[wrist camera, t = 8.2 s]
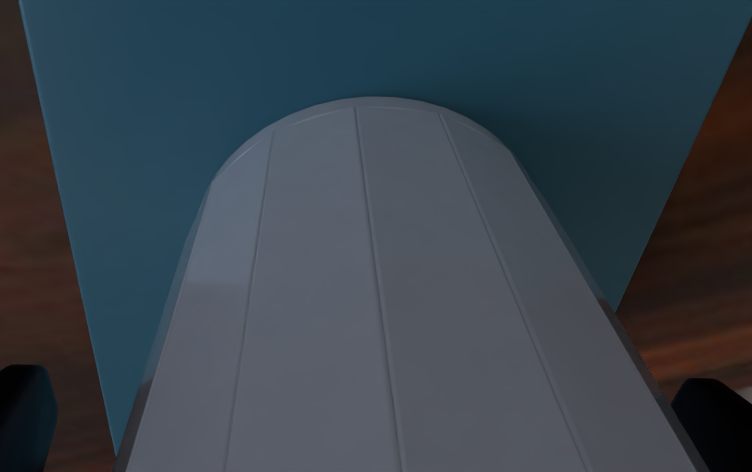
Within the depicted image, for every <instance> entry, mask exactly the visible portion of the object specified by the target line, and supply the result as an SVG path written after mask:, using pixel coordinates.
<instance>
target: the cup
mask: <svg viewBox="0 0 752 472" xmlns="http://www.w3.org/2000/svg"><path fill="white" fill-rule="evenodd" d="M112 472H710V470H709V469H708V467H707V465H706V464H705V462H704V460H703V459H702V457H701V455H700V454H699V452H698V450H697V449H696V447H695V445H694V444H693V442H692V440H691V439H690V437H689V435H688V434H687V432H686V431H685V429H684V427H683V426H682V424H681V422H680V421H679V419H678V417H677V416H676V414H675V412H674V411H673V409H672V407H671V406H670V404H669V402H668V401H667V399H666V397H665V396H664V394H663V392H662V391H661V389H660V388H659V386H658V384H657V383H656V381H655V379H654V378H653V376H652V374H651V373H650V371H649V369H648V368H647V366H646V364H645V363H644V361H643V359H642V358H641V356H640V354H639V353H638V351H637V350H636V348H635V346H634V345H633V343H632V341H631V340H630V338H629V336H628V335H627V333H626V331H625V330H624V328H623V326H622V325H621V323H620V321H619V320H618V318H617V316H616V315H615V313H614V311H613V310H612V308H611V307H610V305H609V303H608V302H607V300H606V298H605V297H604V295H603V293H602V292H601V290H600V288H599V287H598V285H597V283H596V282H595V280H594V278H593V277H592V275H591V273H590V272H589V270H588V269H587V267H586V265H585V264H584V262H583V260H582V259H581V257H580V255H579V254H578V252H577V250H576V249H575V247H574V245H573V244H572V242H571V240H570V239H569V237H568V235H567V234H566V232H565V230H564V229H563V227H562V226H561V224H560V222H559V221H558V219H557V217H556V216H555V214H554V212H553V211H552V209H551V207H550V206H549V204H548V202H547V201H546V199H545V198H544V196H543V195H542V194H541V192H540V191H539V189H538V188H537V187H536V185H535V184H534V183H533V181H532V180H531V179H530V177H529V176H528V174H527V172H526V171H525V169H524V167H523V166H522V164H521V163H520V161H519V160H518V159H517V158H516V156H515V155H514V154H513V153H512V152H511V151H510V149H509V148H508V147H507V146H506V145H505V144H504V143H503V142H502V141H500V140H499V139H498V138H497V137H496V136H494V135H493V134H492V133H491V132H490V131H489V130H487V129H485V128H484V127H482V126H481V125H479V124H477V123H476V122H474V121H473V120H471V119H469V118H467V117H465V116H463V115H461V114H458V113H456V112H454V111H451V110H449V109H447V108H444V107H441V106H437V105H434V104H430V103H427V102H423V101H418V100H412V99H405V98H398V97H370V96H367V97H358V98H348V99H340V100H335V101H331V102H327V103H323V104H318V105H314V106H311V107H309V108H306V109H303V110H301V111H298V112H295V113H293V114H290V115H288V116H286V117H284V118H282V119H280V120H278V121H276V122H275V123H273V124H271V125H269V126H267V127H265V128H264V129H263V130H261V131H260V132H258V133H257V134H256V135H254V136H253V137H251V138H250V139H249V140H247V141H246V142H245V143H244V144H243V145H242V146H241V147H239V148H238V149H237V150H236V151H235V152H234V153H233V154H232V155H231V156H230V157H229V158H228V159H227V160H226V162H225V163H224V164H223V166H222V167H221V168H220V170H219V171H218V172H217V173H216V175H215V176H214V178H213V179H212V181H211V183H210V185H209V187H208V188H207V190H206V192H205V194H204V196H203V199H202V201H201V204H200V207H199V210H198V213H197V215H196V218H195V220H194V223H193V225H192V227H191V229H190V231H189V234H188V236H187V238H186V241H185V244H184V247H183V250H182V254H181V257H180V260H179V263H178V266H177V269H176V272H175V275H174V279H173V282H172V285H171V288H170V291H169V294H168V297H167V300H166V304H165V307H164V310H163V313H162V316H161V319H160V322H159V325H158V329H157V332H156V335H155V338H154V341H153V344H152V347H151V351H150V354H149V357H148V360H147V363H146V366H145V369H144V372H143V376H142V379H141V382H140V385H139V388H138V391H137V394H136V397H135V401H134V404H133V407H132V410H131V413H130V416H129V419H128V422H127V426H126V429H125V432H124V435H123V438H122V441H121V444H120V447H119V451H118V454H117V457H116V460H115V463H114V466H113V469H112Z"/></svg>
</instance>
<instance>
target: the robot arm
mask: <svg viewBox="0 0 752 472" xmlns="http://www.w3.org/2000/svg"><path fill="white" fill-rule="evenodd" d="M670 406H671V407H672V409H673V411H674V412H675V414H676V416H677V417H678V419H679V421H680V422H681V424H682V426H683V427H684V429H685V431H686V432H687V434H688V435H689V437H690V439H691V440H692V442H693V444H694V445H695V447H696V449H697V450H698V452H699V454H700V455H701V457H702V459H703V460H704V462H705V464H706V465H707V467H708V469H709V470H710V472H752V404H751V403H749V402H748V401H747V400H745V399H744V398H743V397H741V396H740V395H738V394H737V393H736V392H734V391H733V390H731V389H730V388H729V387H727V386H726V385H725V384H723V383H722V382H720V381H718V380H715V379H710V378H691V379H688V380H686V381H685V382H684V383H683V384H682V386H681V387H680V389H679V391H678V392H677V394H676V396H675V397H674V399H673V401H672V402H671V404H670ZM57 416H58V408H57V403H56V399H55V396H54V392H53V389H52V385H51V382H50V378H49V375H48V372H47V370H46V369H45V368H44V367H43V366H41V365H20V364H15V365H10V366H7V367H5V368H4V369H2V370H1V371H0V472H43V470H44V466H45V463H46V459H47V456H48V452H49V448H50V445H51V441H52V438H53V434H54V430H55V427H56V423H57Z"/></svg>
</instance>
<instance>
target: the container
mask: <svg viewBox="0 0 752 472" xmlns="http://www.w3.org/2000/svg"><path fill="white" fill-rule="evenodd" d="M18 2H19V6H20V11H21V16H22V20H23V25H24V30H25V34H26V39H27V44H28V48H29V53H30V58H31V62H32V67H33V72H34V76H35V81H36V86H37V90H38V95H39V100H40V104H41V109H42V114H43V118H44V123H45V128H46V132H47V137H48V142H49V146H50V151H51V156H52V160H53V165H54V170H55V174H56V179H57V184H58V188H59V193H60V198H61V202H62V207H63V212H64V216H65V221H66V226H67V230H68V235H69V240H70V244H71V249H72V254H73V258H74V263H75V268H76V272H77V277H78V282H79V286H80V291H81V296H82V300H83V305H84V310H85V314H86V319H87V324H88V328H89V333H90V338H91V342H92V347H93V352H94V356H95V361H96V366H97V370H98V375H99V380H100V384H101V389H102V394H103V398H104V403H105V408H106V412H107V417H108V422H109V426H110V431H111V436H112V440H113V445H114V450H115V454H116V457H117V454H118V451H119V447H120V444H121V441H122V438H123V435H124V432H125V429H126V426H127V422H128V419H129V416H130V413H131V410H132V407H133V404H134V401H135V397H136V394H137V391H138V388H139V385H140V382H141V379H142V376H143V372H144V369H145V366H146V363H147V360H148V357H149V354H150V351H151V347H152V344H153V341H154V338H155V335H156V332H157V329H158V325H159V322H160V319H161V316H162V313H163V310H164V307H165V304H166V300H167V297H168V294H169V291H170V288H171V285H172V282H173V279H174V275H175V272H176V269H177V266H178V263H179V260H180V257H181V254H182V250H183V247H184V244H185V241H186V238H187V236H188V234H189V231H190V229H191V227H192V225H193V223H194V220H195V218H196V215H197V213H198V210H199V207H200V204H201V201H202V199H203V196H204V194H205V192H206V190H207V188H208V187H209V185H210V183H211V181H212V179H213V178H214V176H215V175H216V173H217V172H218V171H219V170H220V168H221V167H222V166H223V164H224V163H225V162H226V160H227V159H228V158H229V157H230V156H231V155H232V154H233V153H234V152H235V151H236V150H237V149H238V148H239V147H241V146H242V145H243V144H244V143H245V142H246V141H247V140H249V139H250V138H251V137H253V136H254V135H256V134H257V133H258V132H260V131H261V130H263V129H264V128H265V127H267V126H269V125H271V124H273V123H275V122H276V121H278V120H280V119H282V118H284V117H286V116H288V115H290V114H293V113H295V112H298V111H301V110H303V109H306V108H309V107H311V106H314V105H318V104H323V103H327V102H331V101H335V100H340V99H348V98H358V97H367V96H370V97H398V98H405V99H412V100H418V101H423V102H427V103H430V104H434V105H437V106H441V107H444V108H447V109H449V110H451V111H454V112H456V113H458V114H461V115H463V116H465V117H467V118H469V119H471V120H473V121H474V122H476V123H477V124H479V125H481V126H482V127H484V128H485V129H487V130H489V131H490V132H491V133H492V134H493V135H494V136H496V137H497V138H498V139H499V140H500V141H502V142H503V143H504V144H505V145H506V146H507V147H508V148H509V149H510V151H511V152H512V153H513V154H514V155H515V156H516V158H517V159H518V160H519V161H520V163H521V164H522V166H523V167H524V169H525V171H526V172H527V174H528V176H529V177H530V179H531V180H532V181H533V183H534V184H535V185H536V187H537V188H538V189H539V191H540V192H541V194H542V195H543V196H544V198H545V199H546V201H547V202H548V204H549V206H550V207H551V209H552V211H553V212H554V214H555V216H556V217H557V219H558V221H559V222H560V224H561V226H562V227H563V229H564V230H565V232H566V234H567V235H568V237H569V239H570V240H571V242H572V244H573V245H574V247H575V249H576V250H577V252H578V254H579V255H580V257H581V259H582V260H583V262H584V264H585V265H586V267H587V269H588V270H589V272H590V273H591V275H592V277H593V278H594V280H595V282H596V283H597V285H598V287H599V288H600V290H601V292H602V293H603V295H604V297H605V298H606V300H607V302H608V303H609V305H610V307H611V308H612V310H613V311H614V313H615V312H616V310H617V307H618V305H619V303H620V301H621V299H622V297H623V295H624V292H625V290H626V288H627V286H628V284H629V282H630V279H631V277H632V275H633V273H634V271H635V269H636V266H637V264H638V262H639V260H640V258H641V256H642V254H643V251H644V249H645V247H646V245H647V243H648V241H649V238H650V236H651V234H652V232H653V230H654V228H655V226H656V223H657V221H658V219H659V217H660V215H661V213H662V210H663V208H664V206H665V204H666V202H667V200H668V197H669V195H670V193H671V191H672V189H673V187H674V185H675V182H676V180H677V178H678V176H679V174H680V172H681V169H682V167H683V165H684V163H685V161H686V159H687V157H688V154H689V152H690V150H691V148H692V146H693V144H694V141H695V139H696V137H697V135H698V133H699V131H700V128H701V126H702V124H703V122H704V120H705V118H706V116H707V113H708V111H709V109H710V107H711V105H712V103H713V100H714V98H715V96H716V94H717V92H718V90H719V88H720V85H721V83H722V81H723V79H724V77H725V75H726V72H727V70H728V68H729V66H730V64H731V62H732V60H733V57H734V55H735V53H736V51H737V49H738V47H739V44H740V42H741V40H742V38H743V36H744V34H745V31H746V29H747V27H748V25H749V23H750V21H751V19H752V0H18Z"/></svg>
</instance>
